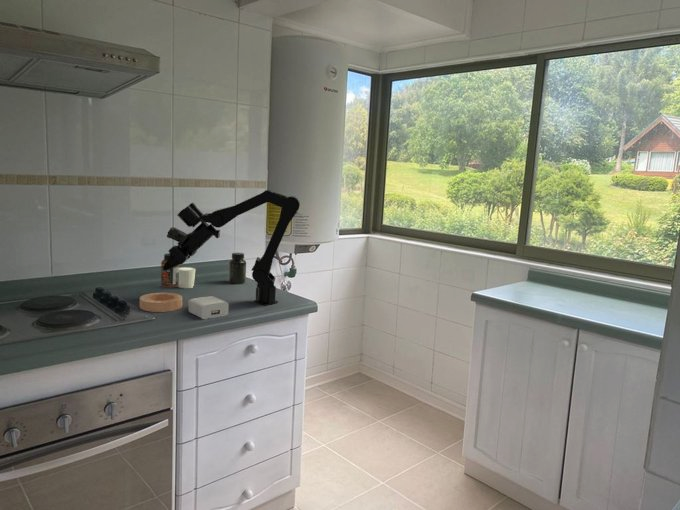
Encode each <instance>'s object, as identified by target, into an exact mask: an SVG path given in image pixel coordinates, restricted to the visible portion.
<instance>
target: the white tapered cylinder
mask: <svg viewBox="0 0 680 510" xmlns="http://www.w3.org/2000/svg"><path fill="white" fill-rule="evenodd" d="M195 275H196V268H195V267H188V266H187V267H185V266H183V267H179V285H178V286H177V287H178V288H180V289H192V288H194V287H193V286H195V277H196V276H195Z"/></svg>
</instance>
